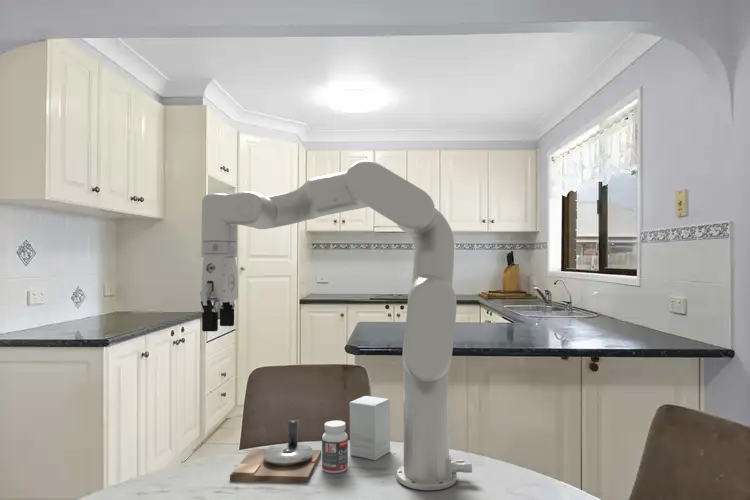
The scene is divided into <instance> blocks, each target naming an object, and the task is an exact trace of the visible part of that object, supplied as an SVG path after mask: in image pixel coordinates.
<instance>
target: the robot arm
mask: <svg viewBox="0 0 750 500" xmlns="http://www.w3.org/2000/svg"><path fill="white" fill-rule="evenodd" d="M363 208H370V209H372V210H373V211H375V212H377V213H378V214H380V215H381V216H383V217H384V218H386V219H388V220H390V221H391V222H393V223H395V224H396V225H397V227H398V228H399V229H400V230H402V232H405V233H406V234H408V235H410V237H411V238H412V240H413V243H414V254H413V255H414V256H413V267H412V268H413V269H412V270H413V271H412V278H411V285H410V288H409V292H408V296H407V307H406V319H405V326H404V327H405V329H404V336H403V337H404V338H403V339H404V340H403V345H402V355H401V356H402V364H403V366H402V374H403V375H402V376H403V377H402V378H403V383H402V384H403V390H402V391H403V393H402V394H403V404H402V405H403V407H402V409H403V414H402V415H403V419H402V421H403V465H402V466H400V467H399V468H398V469H397V470H396V480H397V481H398V482H399V483H400V484H401V485H402V486H405V487H407V488H410V489H414V490H419V491H440V490H445V489H447V488H450V487H452V486H454V485H455V484H456V482H457V481H458V480H457V479H458V477H457V473H466V474H468V473H470V474H471V473H473V466H472V465H473V464H472V462H465V459H454V458H452V456H451V453H450V433H449V432H450V427H449V426H450V425H449V423H450V422H449V420H450V418H449V414H450V413H449V404H450V403H449V402H450V399H449V397H450V396H449V368H450V367H451V362H452V357H453V350H454V349H453V347H454V340H455V339H454V338H455V327H456V319H457V296H456V293H455V290H454V289H453V276H454V265H455V264H454V263H455V239H454V234H453V230H452V229H451V226H450V224H449V222H448V220H447V219H446V217H445V216H444V214H443V213H442V212H440V210H438V209H437V208H436V207H435V203H434V200H433V198H432V197H431V196H430V195H429V194H428V193H427V192H426V190H424V189H422V188H421V187H418V186H416V185H415V184H413V183H412V182H410V181H408V180H407V179H405V178H403V177H401V176H399V175H398V174H397V173H395V172H394V171H391V170H390V169H388V168H387V167H385V166H383V165H382V164H380V163H378V162H377V161H373V160H370V159H369V160H367V159H364V160H363V159H362V160H358V161H356V162H354V163H353V164H351V166H349V168H348V169H347V170H346V171H345V170H344V171H342V172H335V173H332V174H326V175H325V174H324V175H322V176H316V177H313V178H312V177H311V178H310V179H308V180H306V182H305V183H304V184H303V185H302V186H300V187H298V188H297V189H295V190H292V191H288V192H284V193H280V194H275V195H271V196H270V195H269V196H264V195H262V194H260V193H258V192H255V191H246V190H245V191H240V192H234V193H230V194H226V193H208V194H206V195H204V196H203V197H202V201H201V247H200V248H201V250H200V251H201V257H202V258H203V260H202V269H201V270H202V271H201V290H200V293H199V296H200V300H201V301H200V305H201V315H202V316H201V317H202V318H201V330H202V332H217V331H218V330H219V326H220V327H234V326H235V307H236V305H235V301H237V299H238V298H239V281H238V268H237V267H238V266H237V259H236V258H237V257H238V225H239V226H243V227H244V226H245V227H249V228H253V229H257V230H269V229H273V228H274V229H275V228H279V227H284V226H289V225H294V224H297V223H303V222H306V221H309V220H314V219H317V218H321V217H325V216H329V215H334V214H339V213H344V212H349V211H355V210H358V209H363ZM219 304H220V307H221V308H219V312H218V311H217V310H218V306H219Z"/></svg>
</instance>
